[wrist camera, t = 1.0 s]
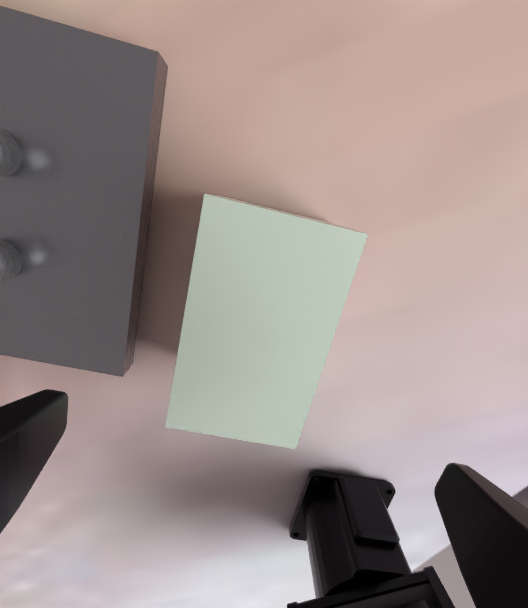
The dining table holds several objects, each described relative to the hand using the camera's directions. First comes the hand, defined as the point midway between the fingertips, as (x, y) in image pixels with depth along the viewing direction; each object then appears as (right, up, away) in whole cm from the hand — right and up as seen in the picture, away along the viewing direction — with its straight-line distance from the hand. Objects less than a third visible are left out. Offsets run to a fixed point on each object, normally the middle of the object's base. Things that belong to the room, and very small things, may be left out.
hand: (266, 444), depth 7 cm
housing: (-1, +4, +11) cm, 12 cm away
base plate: (-13, +8, +9) cm, 18 cm away
